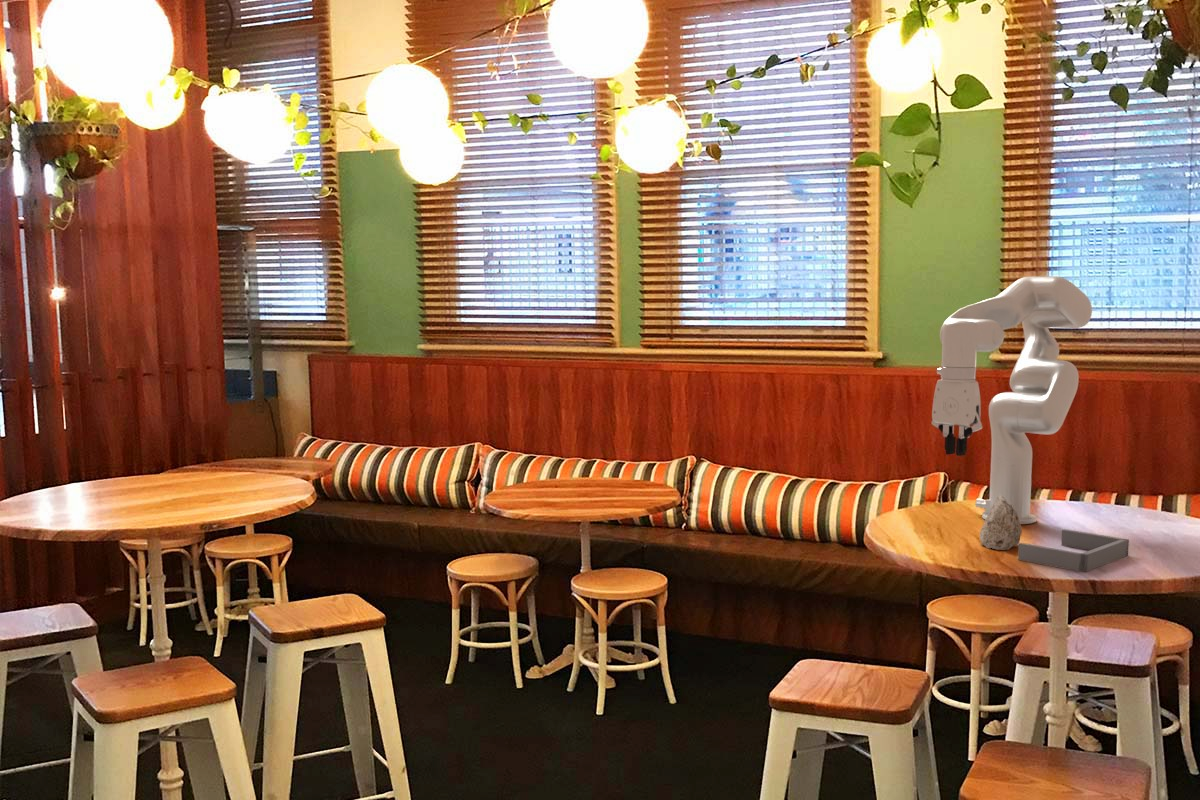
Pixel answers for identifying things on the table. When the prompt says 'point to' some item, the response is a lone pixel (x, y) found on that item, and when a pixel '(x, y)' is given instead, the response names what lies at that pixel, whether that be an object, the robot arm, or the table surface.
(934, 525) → the table surface
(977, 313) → the robot arm
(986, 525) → the rock
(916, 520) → the table surface
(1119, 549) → the frame
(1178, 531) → the table surface
